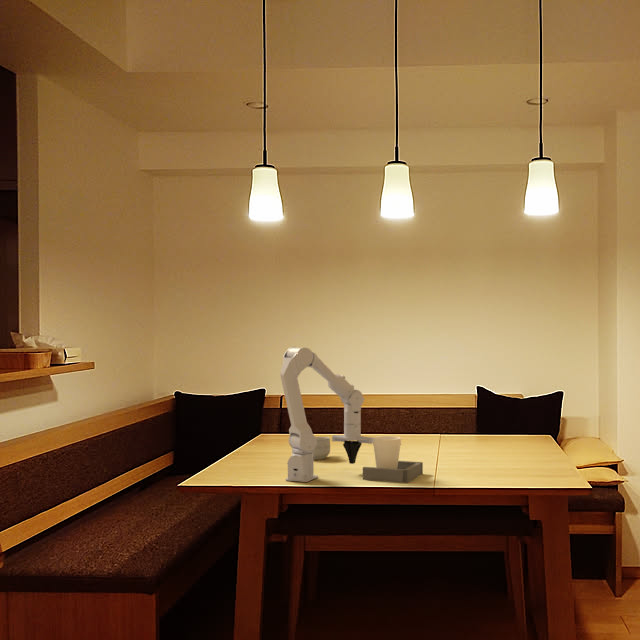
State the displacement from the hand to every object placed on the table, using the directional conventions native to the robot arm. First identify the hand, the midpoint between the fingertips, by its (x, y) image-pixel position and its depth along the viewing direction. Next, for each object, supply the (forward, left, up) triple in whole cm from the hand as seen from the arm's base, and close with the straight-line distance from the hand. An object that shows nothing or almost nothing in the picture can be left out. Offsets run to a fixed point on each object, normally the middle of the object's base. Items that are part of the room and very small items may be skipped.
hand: (352, 463), depth 285 cm
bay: (0, -14, -4) cm, 15 cm away
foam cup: (0, -13, -4) cm, 13 cm away
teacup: (+25, +24, -4) cm, 35 cm away
